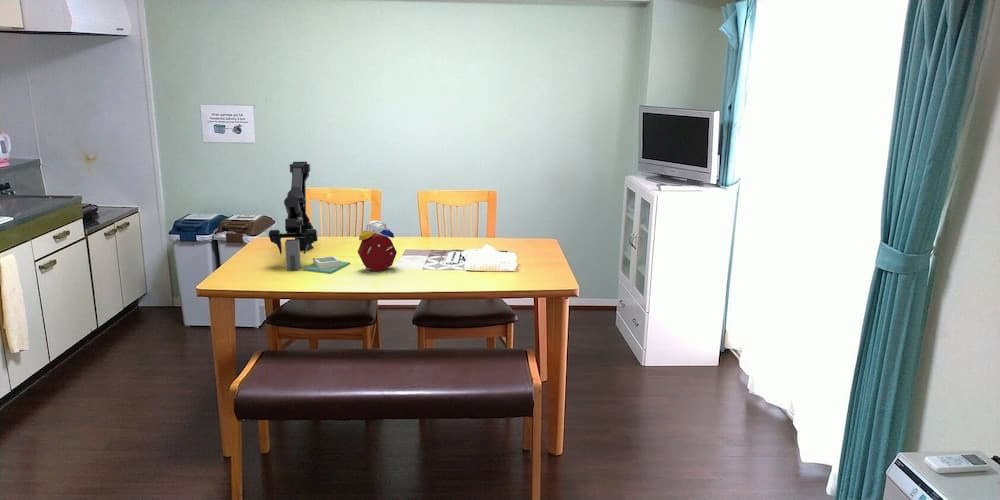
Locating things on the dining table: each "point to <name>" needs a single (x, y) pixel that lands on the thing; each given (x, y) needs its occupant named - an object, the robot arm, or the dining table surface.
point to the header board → (329, 270)
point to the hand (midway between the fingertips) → (292, 253)
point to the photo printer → (376, 227)
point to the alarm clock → (377, 249)
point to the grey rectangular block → (292, 254)
